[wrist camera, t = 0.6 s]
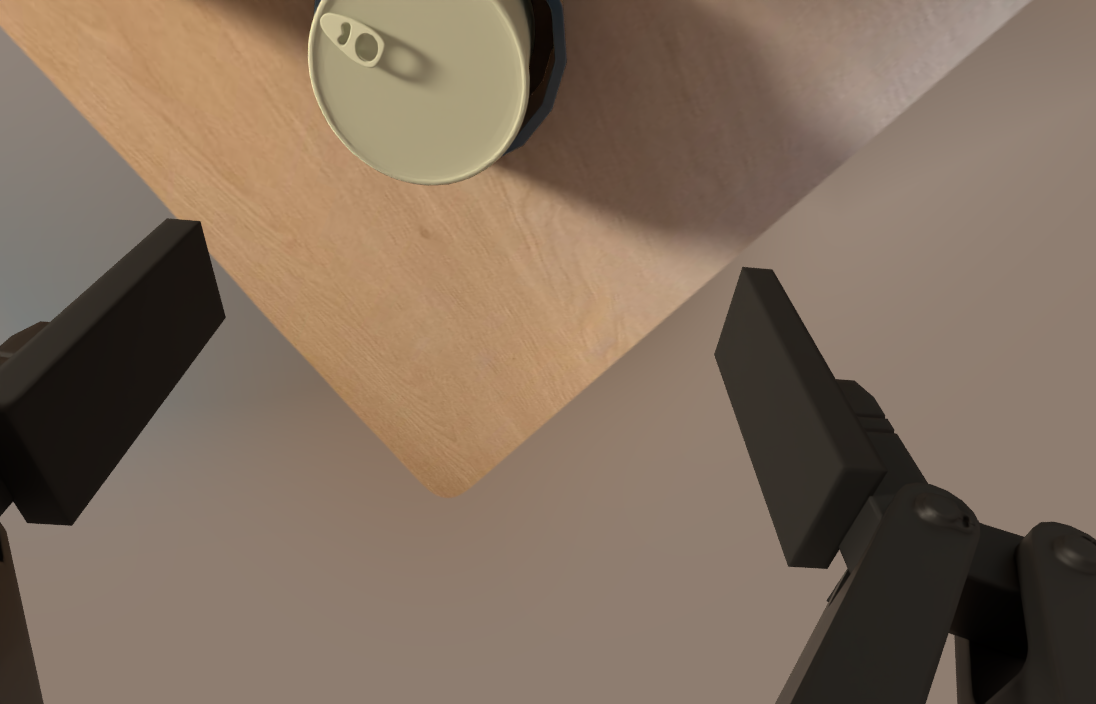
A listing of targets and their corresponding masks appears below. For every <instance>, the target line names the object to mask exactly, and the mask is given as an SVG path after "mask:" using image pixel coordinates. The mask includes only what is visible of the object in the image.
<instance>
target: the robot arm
mask: <svg viewBox="0 0 1096 704" xmlns="http://www.w3.org/2000/svg"><path fill="white" fill-rule="evenodd" d="M224 319H225V313H224V309H223V306H222V302H221V298H220V294H219V291H218V287H217V283H216V279H215V275H214V272H213V268H212V264H211V260H210V256H209V252H208V248H207V245H206V241H205V237H204V233H203V229H202V226H201V222H200V221H191V220H179V219H166V220H165V221H164V222H163V223H162V224H160V225H159V226H158V227H157V228H156V229H155V230H153V231H152V232H151V233H150V234H149V235H148V236H147V237H146V238H145V239H143V240H142V241H141V242H140V243H139V244H138V245H137V246H135V247H134V248H133V249H132V250H131V251H130V252H129V253H128V254H126V255H125V256H124V257H123V258H122V259H121V260H120V261H118V262H117V263H116V264H115V265H114V266H113V267H112V268H111V269H110V270H109V271H107V272H106V273H105V274H104V275H103V276H102V277H100V278H99V279H98V280H97V281H96V282H95V283H94V284H93V285H92V286H90V287H89V288H88V289H87V290H86V291H85V292H84V293H82V294H81V295H80V296H79V297H78V298H77V299H76V300H75V301H73V302H72V303H71V304H70V305H69V306H68V307H67V308H65V309H64V310H63V311H62V312H61V313H60V314H59V315H58V316H56V317H55V318H54V319H53V320H52V321H51V322H39V323H36V324H35V325H33V326H31V327H29V328H26V329H24V330H23V331H21V332H18V333H17V334H15V335H13V336H11V337H10V338H9V339H8V340H6V341H5V342H4V343H3V344H2V345H1V346H0V516H1V515H2V514H3V513H4V511H5V510H6V509H7V508H8V506H9V505H10V504H11V503H12V502H14V503H15V505H16V506H17V508H18V510H19V511H20V513H21V514H22V515H23V517H24V519H25V520H26V522H27V523H36V524H53V525H70V526H72V525H73V524H74V522H75V521H76V519H77V518H78V517H79V515H80V514H81V513H82V511H83V510H84V509H85V507H86V506H87V505H88V503H89V502H90V500H91V499H92V498H93V496H94V495H95V494H96V492H97V491H98V490H99V488H100V487H101V485H102V484H103V483H104V482H105V480H106V479H107V477H108V476H109V475H110V473H111V472H112V471H113V469H114V468H115V467H116V465H117V464H118V463H119V461H120V460H121V459H122V457H123V456H124V455H125V453H126V452H127V450H128V449H129V448H130V446H131V445H132V444H133V442H134V441H135V440H136V438H137V437H138V436H139V434H140V433H141V431H142V430H143V429H144V427H145V426H146V425H147V423H148V422H149V421H150V419H151V418H152V417H153V415H154V414H155V412H156V411H157V410H158V408H159V407H160V406H161V404H162V403H163V402H164V400H165V399H166V398H167V396H168V395H169V393H170V392H171V391H172V390H173V388H174V387H175V385H176V384H177V383H178V381H179V380H180V379H181V377H182V376H183V375H184V373H185V372H186V371H187V369H188V368H189V366H190V365H191V363H192V362H193V361H194V360H195V358H196V357H197V356H198V354H199V353H200V352H201V350H202V349H203V348H204V346H205V344H206V343H207V342H208V341H209V339H210V338H211V337H212V335H213V334H214V332H215V331H216V330H217V329H218V327H219V326H220V324H221V323H222V322H223V320H224ZM714 355H715V358H716V361H717V364H718V367H719V369H720V372H721V375H722V378H723V381H724V384H725V387H726V390H727V393H728V395H729V398H730V401H731V404H732V407H733V410H734V412H735V415H736V418H737V421H738V424H739V427H740V430H741V433H742V436H743V438H744V441H745V444H746V447H747V450H748V453H749V456H750V458H751V461H752V464H753V467H754V470H755V473H756V476H757V478H758V481H759V484H760V487H761V490H762V493H763V496H764V498H765V501H766V504H767V507H768V510H769V513H770V516H771V518H772V521H773V524H774V527H775V530H776V533H777V536H778V539H779V541H780V544H781V547H782V550H783V553H784V556H785V558H786V561H787V564H788V566H789V567H805V568H806V567H807V568H822V569H828V567H829V565H830V564H831V562H832V561H833V559H834V557H835V556H836V554H837V552H838V551H839V549H840V551H841V554H842V556H843V558H844V561H845V563H846V565H847V568H848V569H847V570H846V572H845V573H844V575H843V576H842V578H841V579H840V581H839V582H838V584H837V585H836V587H835V589H834V590H833V592H832V593H831V595H830V596H829V598H828V599H827V601H828V604H827V606H826V608H825V610H824V612H823V614H822V616H821V618H820V619H819V622H818V623H817V625H816V627H815V629H814V631H813V633H812V635H811V637H810V638H809V640H808V642H807V644H806V646H805V648H804V650H803V652H802V654H801V656H800V657H799V659H798V661H797V663H796V665H795V667H794V669H793V671H792V673H791V674H790V676H789V678H788V680H787V682H786V684H785V686H784V688H783V690H782V692H781V693H780V695H779V697H778V699H777V701H776V703H775V704H925V703H926V700H927V697H928V694H929V691H930V688H931V685H932V682H933V679H934V676H935V673H936V669H937V667H938V664H939V661H940V657H941V654H942V651H943V648H944V645H945V642H946V639H947V636H948V633H950V634H953V635H955V658H956V678H957V679H956V680H957V702H958V704H1096V540H1095V539H1094V538H1092V537H1091V536H1090V535H1088V534H1086V533H1084V532H1082V531H1080V530H1078V529H1076V528H1073V527H1072V526H1068V525H1065V524H1061V523H1057V522H1041V523H1039V524H1038V525H1036V526H1035V527H1033V528H1032V530H1031V531H1030V532H1029V533H1028V534H1027V535H1026V536H1025V537H1023V536H1020V535H1017V534H1013V533H1010V532H1006V531H1004V530H1000V529H997V528H994V527H990V526H987V525H984V524H982V523H979V521H978V520H977V518H976V516H975V514H974V512H973V511H972V510H971V509H970V508H969V507H968V506H967V505H966V504H965V503H964V502H963V501H962V500H960V499H959V498H957V497H956V496H954V495H953V494H951V493H950V492H948V491H946V490H944V489H941V488H939V487H936V486H934V485H931V484H928V483H927V481H926V480H925V478H924V476H923V475H922V473H921V472H920V470H919V468H918V467H917V465H916V463H915V462H914V460H913V459H912V457H911V456H910V454H909V452H908V451H907V449H906V448H905V446H904V444H903V443H902V441H901V440H900V438H899V436H898V435H897V434H894V429H893V427H892V425H891V424H890V422H889V421H888V419H885V414H884V413H883V411H882V410H881V408H880V406H879V405H878V403H877V402H876V400H875V398H874V397H873V396H872V395H871V394H869V393H868V392H867V391H866V390H865V389H864V388H862V387H861V386H860V385H859V384H858V383H857V382H855V381H852V380H839V379H835V377H834V376H833V374H832V372H831V371H830V369H829V367H828V365H827V363H826V362H825V360H824V358H823V356H822V355H821V353H820V351H819V350H818V348H817V346H816V345H815V343H814V341H813V339H812V337H811V336H810V334H809V332H808V331H807V329H806V327H805V325H804V323H803V322H802V320H801V318H800V317H799V315H798V313H797V311H796V310H795V308H794V306H793V304H792V303H791V301H790V299H789V298H788V296H787V294H786V292H785V290H784V289H783V287H782V285H781V284H780V282H779V280H778V278H777V277H776V275H775V273H774V272H773V270H771V269H759V268H748V267H742V270H741V274H740V276H739V280H738V282H737V286H736V289H735V292H734V295H733V298H732V301H731V304H730V308H729V311H728V314H727V317H726V320H725V323H724V326H723V329H722V332H721V335H720V339H719V342H718V345H717V348H716V351H715V354H714ZM0 704H44V703H43V699H42V694H41V689H40V685H39V680H38V675H37V671H36V666H35V662H34V657H33V653H32V648H31V643H30V639H29V634H28V629H27V625H26V620H25V615H24V611H23V606H22V601H21V597H20V592H19V588H18V583H17V578H16V574H15V569H14V564H13V560H12V555H11V550H10V546H9V541H8V537H7V532H6V530H5V529H4V527H3V526H2V524H1V523H0Z"/></svg>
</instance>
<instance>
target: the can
mask: <svg viewBox="0 0 1096 704" xmlns="http://www.w3.org/2000/svg"><path fill="white" fill-rule="evenodd" d="M534 43H535V18H534V12H533V7H532V3H531V0H321V2H320V4H319V6H318V8H317V10H316V13H315V15H314V19H313V22H312V25H311V30H310V35H309V42H308V64H309V73H310V79H311V83H312V87H313V90H314V94H315V97H316V99H317V102H318V104H319V107H320V109H321V111H322V113H323V115H324V117H325V119H326V121H327V122H328V124H329V125H330V127H331V128H332V130H333V131H334V133H335V134H336V135H337V137H338V138H339V139H340V140H341V142H342V143H343V144H344V145H345V146H346V147H347V148H348V149H349V150H350V151H351V152H352V153H353V154H354V155H356V156H357V157H358V158H359V159H361V160H362V161H363V162H365V163H366V164H367V165H369V166H371V167H372V168H374V169H375V170H377V171H379V172H381V173H383V174H385V175H387V176H390V177H392V178H395V179H397V180H401V181H404V182H408V183H413V184H420V185H445V184H451V183H456V182H459V181H463V180H466V179H468V178H471V177H473V176H475V175H477V174H479V173H480V172H482V171H484V170H486V169H487V168H488V167H490V166H491V165H492V164H493V163H495V162H496V161H497V160H498V159H499V158H500V157H501V156H502V155H503V154H504V153H505V152H506V150H507V149H508V148H509V146H510V145H511V144H512V142H513V141H514V139H515V137H516V135H517V134H518V132H519V129H520V127H521V125H522V122H523V119H524V116H525V113H526V109H527V104H528V98H529V85H530V75H529V63H530V60H531V57H532V53H533V49H534Z"/></svg>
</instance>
